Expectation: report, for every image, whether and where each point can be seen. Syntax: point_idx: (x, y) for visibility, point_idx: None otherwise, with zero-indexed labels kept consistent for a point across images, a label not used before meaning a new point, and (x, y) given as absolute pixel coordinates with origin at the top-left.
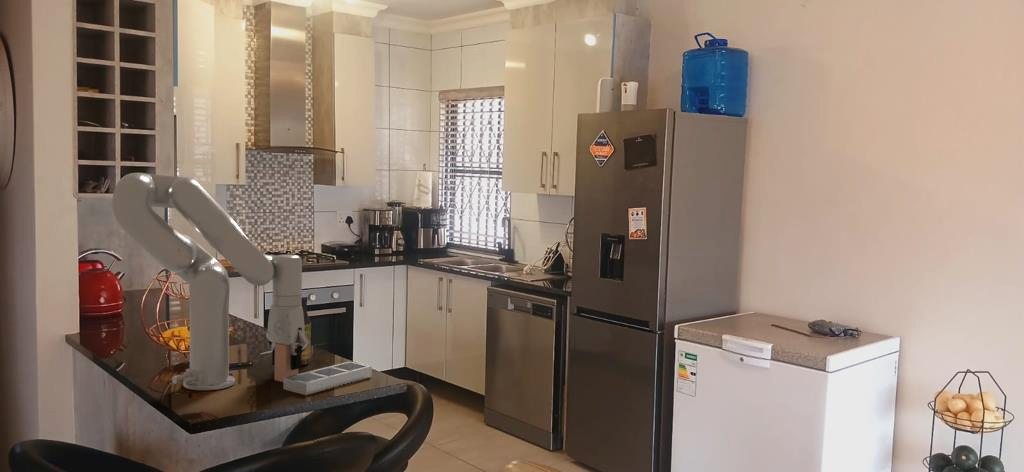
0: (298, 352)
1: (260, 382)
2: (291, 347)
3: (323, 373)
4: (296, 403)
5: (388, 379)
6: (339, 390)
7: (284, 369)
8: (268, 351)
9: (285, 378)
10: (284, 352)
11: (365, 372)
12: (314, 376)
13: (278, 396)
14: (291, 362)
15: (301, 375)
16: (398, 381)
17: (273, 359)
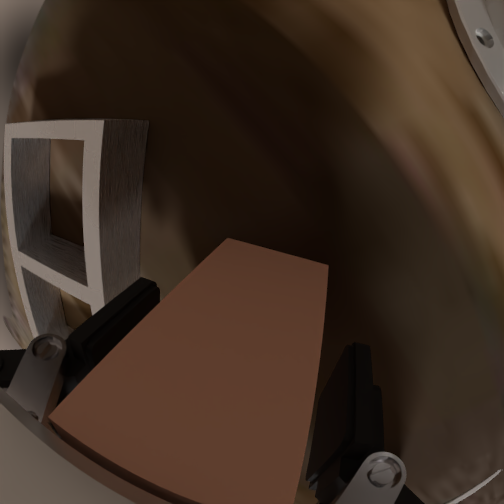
0: (24, 350)
1: (375, 177)
2: (37, 398)
3: None
4: (33, 39)
5: None
6: None
7: (203, 275)
8: (482, 485)
9: (91, 120)
10: (120, 370)
11: None
12: (64, 267)
13: (104, 30)
14: (115, 304)
15: (87, 240)
16: None
17: (356, 374)
